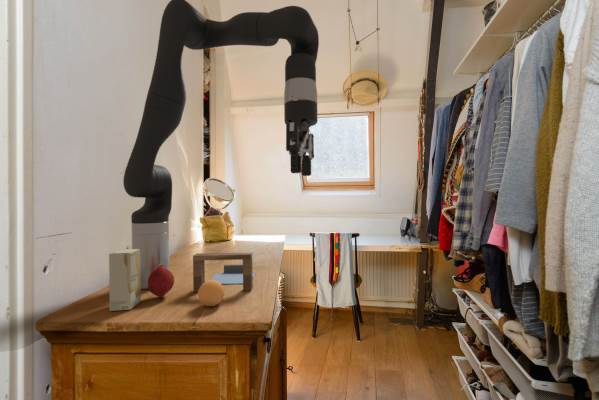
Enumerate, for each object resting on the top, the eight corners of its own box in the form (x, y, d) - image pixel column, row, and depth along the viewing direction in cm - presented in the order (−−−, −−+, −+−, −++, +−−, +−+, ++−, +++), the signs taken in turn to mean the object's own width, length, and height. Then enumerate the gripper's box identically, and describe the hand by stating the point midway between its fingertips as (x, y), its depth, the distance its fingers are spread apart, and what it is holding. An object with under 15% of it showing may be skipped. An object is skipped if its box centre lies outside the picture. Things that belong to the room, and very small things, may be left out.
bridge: (251, 290, 76) (250, 254, 76) (193, 292, 76) (192, 255, 76) (252, 287, 79) (252, 252, 79) (197, 288, 79) (196, 253, 79)
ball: (192, 308, 64) (192, 282, 64) (208, 300, 69) (208, 276, 69) (214, 311, 62) (214, 284, 62) (229, 302, 68) (228, 278, 68)
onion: (163, 302, 69) (163, 267, 69) (141, 300, 70) (141, 266, 70) (179, 294, 74) (178, 261, 74) (158, 292, 76) (157, 261, 76)
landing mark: (250, 283, 82) (249, 283, 82) (206, 284, 82) (206, 283, 82) (255, 273, 94) (255, 272, 94) (217, 273, 94) (217, 273, 94)
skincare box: (130, 310, 64) (130, 252, 64) (108, 312, 63) (107, 253, 63) (142, 300, 70) (141, 248, 70) (121, 301, 69) (120, 248, 69)
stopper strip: (223, 273, 95) (223, 265, 95) (224, 272, 96) (224, 264, 96) (249, 273, 95) (249, 265, 95) (249, 272, 96) (249, 264, 96)
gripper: (294, 113, 76) (295, 177, 76) (273, 94, 63) (274, 172, 63) (323, 110, 74) (324, 176, 74) (308, 90, 60) (309, 171, 61)
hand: (301, 174), depth 68 cm, fingers open, 8 cm apart
